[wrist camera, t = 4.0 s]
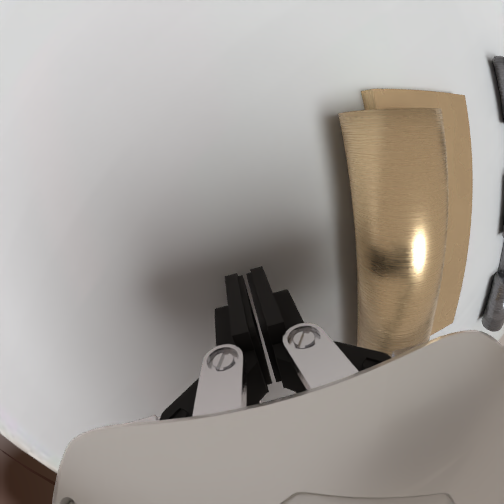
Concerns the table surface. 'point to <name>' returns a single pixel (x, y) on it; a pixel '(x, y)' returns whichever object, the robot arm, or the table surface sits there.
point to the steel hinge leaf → (500, 299)
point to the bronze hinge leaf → (408, 212)
